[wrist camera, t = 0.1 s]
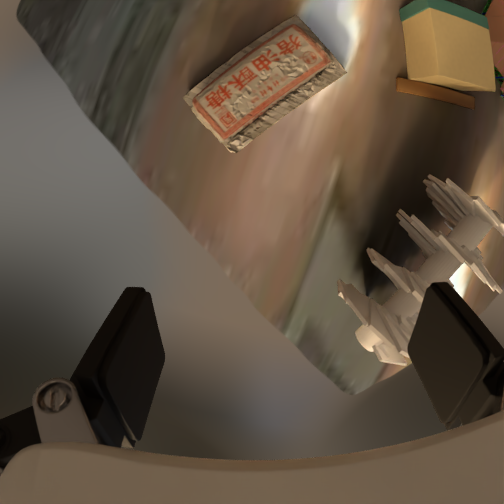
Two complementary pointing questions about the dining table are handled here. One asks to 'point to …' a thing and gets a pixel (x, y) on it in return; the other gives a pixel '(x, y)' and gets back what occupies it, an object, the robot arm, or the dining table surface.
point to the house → (496, 35)
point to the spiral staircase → (423, 269)
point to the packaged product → (263, 83)
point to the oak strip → (434, 92)
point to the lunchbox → (447, 45)
